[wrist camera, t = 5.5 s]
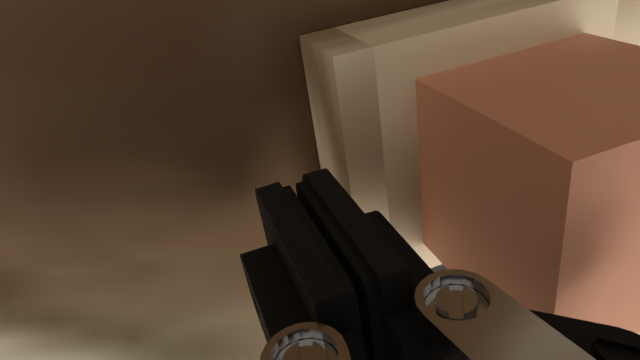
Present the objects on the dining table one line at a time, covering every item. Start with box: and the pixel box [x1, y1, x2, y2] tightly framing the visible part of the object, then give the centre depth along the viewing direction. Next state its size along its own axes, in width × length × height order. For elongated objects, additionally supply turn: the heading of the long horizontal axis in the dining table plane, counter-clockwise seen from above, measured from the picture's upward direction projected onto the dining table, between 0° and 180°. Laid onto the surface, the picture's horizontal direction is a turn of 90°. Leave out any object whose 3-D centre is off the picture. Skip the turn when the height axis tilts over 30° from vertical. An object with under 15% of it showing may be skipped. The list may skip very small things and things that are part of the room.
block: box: [415, 33, 640, 334], centre depth 12 cm, size 5×5×5 cm
